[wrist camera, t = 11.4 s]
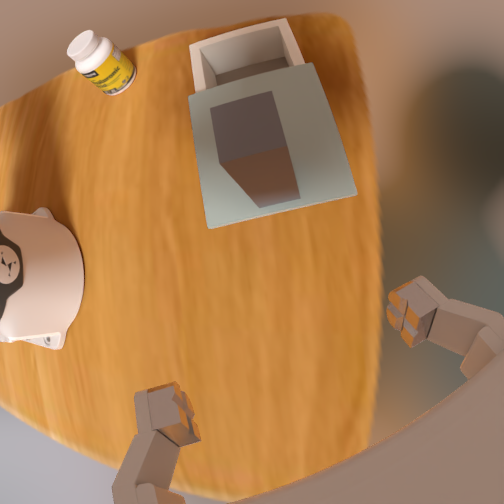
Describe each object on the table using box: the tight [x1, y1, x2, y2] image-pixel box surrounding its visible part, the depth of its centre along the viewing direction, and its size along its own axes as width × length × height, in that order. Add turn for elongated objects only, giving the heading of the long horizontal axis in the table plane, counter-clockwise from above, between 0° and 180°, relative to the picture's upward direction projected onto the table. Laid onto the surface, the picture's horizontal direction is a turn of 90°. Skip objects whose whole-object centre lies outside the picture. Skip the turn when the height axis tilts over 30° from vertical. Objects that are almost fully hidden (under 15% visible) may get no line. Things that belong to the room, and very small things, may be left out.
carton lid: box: [188, 62, 357, 229], centre depth 18 cm, size 12×11×10 cm
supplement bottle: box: [67, 30, 136, 95], centre depth 30 cm, size 5×5×10 cm
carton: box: [189, 18, 305, 93], centre depth 27 cm, size 11×10×6 cm
